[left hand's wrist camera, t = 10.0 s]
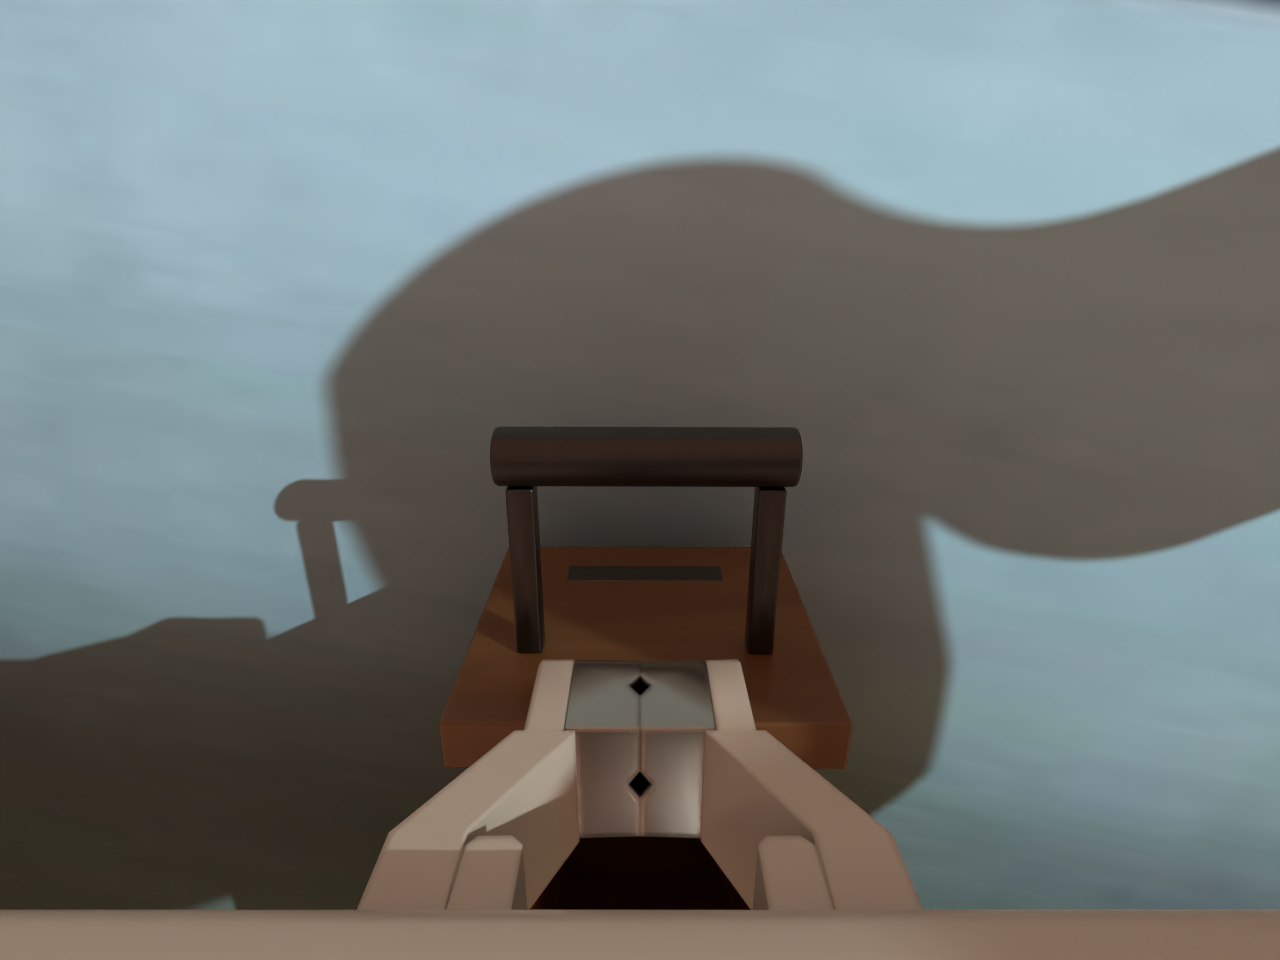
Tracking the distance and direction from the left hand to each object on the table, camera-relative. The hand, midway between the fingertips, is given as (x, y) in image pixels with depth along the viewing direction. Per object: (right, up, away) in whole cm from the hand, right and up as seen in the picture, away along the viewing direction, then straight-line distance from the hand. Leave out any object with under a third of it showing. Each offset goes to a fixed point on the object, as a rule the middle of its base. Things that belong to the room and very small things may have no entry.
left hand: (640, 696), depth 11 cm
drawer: (0, -2, +12) cm, 13 cm away
